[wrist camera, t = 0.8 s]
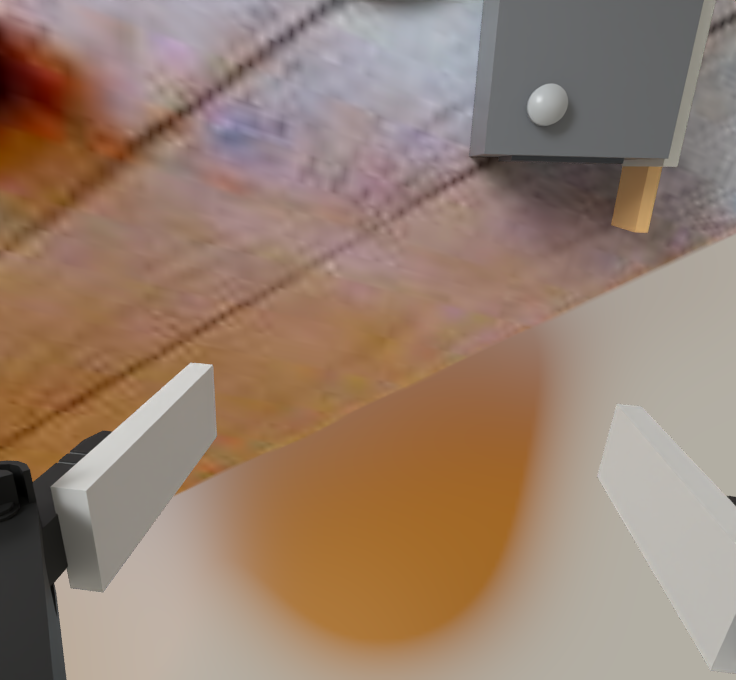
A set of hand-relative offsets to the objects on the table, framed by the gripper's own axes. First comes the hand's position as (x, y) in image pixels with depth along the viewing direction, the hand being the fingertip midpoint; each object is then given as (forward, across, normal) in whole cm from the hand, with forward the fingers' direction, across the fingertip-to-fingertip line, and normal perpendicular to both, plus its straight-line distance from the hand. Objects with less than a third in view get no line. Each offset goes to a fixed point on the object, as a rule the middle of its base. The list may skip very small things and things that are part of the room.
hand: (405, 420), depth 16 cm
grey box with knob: (+24, +8, +14) cm, 29 cm away
